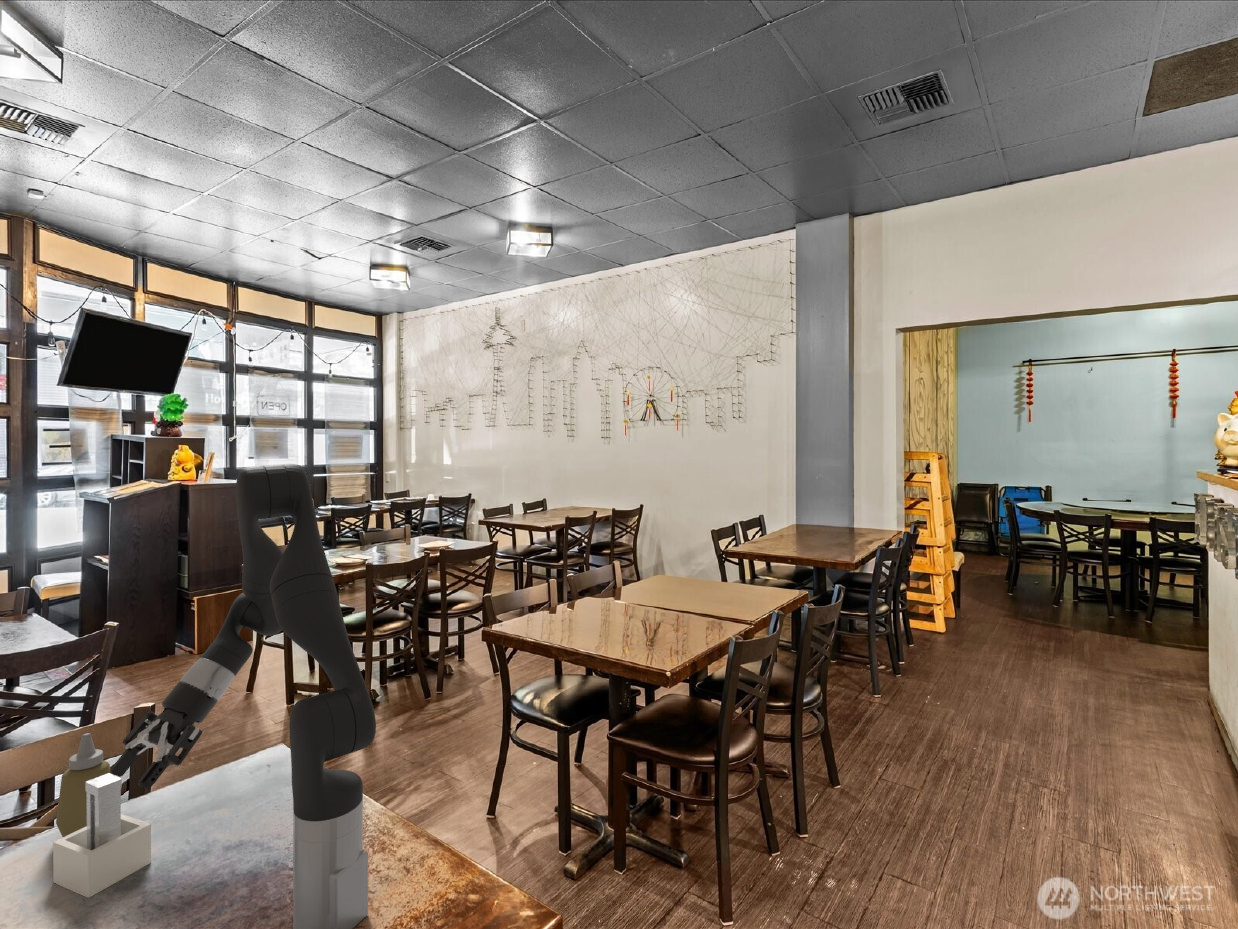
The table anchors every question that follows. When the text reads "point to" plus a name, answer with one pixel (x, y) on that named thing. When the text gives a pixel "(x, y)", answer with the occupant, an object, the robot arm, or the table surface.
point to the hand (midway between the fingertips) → (128, 781)
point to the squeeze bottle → (78, 786)
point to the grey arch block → (103, 810)
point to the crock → (101, 858)
